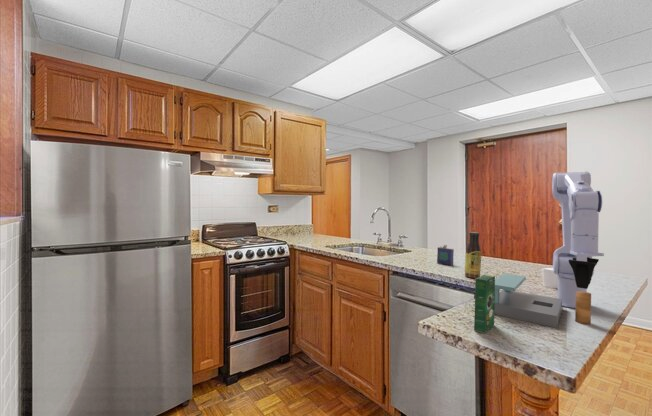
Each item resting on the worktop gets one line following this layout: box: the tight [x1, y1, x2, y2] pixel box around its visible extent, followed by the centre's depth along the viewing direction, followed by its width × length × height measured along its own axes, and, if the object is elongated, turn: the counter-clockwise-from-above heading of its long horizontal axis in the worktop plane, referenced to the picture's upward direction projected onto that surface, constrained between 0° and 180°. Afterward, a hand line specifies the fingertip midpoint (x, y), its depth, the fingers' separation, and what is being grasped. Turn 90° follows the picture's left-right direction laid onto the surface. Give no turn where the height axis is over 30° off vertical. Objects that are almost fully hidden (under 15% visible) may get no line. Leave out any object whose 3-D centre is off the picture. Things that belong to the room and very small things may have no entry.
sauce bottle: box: [464, 231, 482, 279], centre depth 136 cm, size 6×6×20 cm
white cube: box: [541, 267, 558, 290], centre depth 122 cm, size 7×7×7 cm
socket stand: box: [494, 273, 563, 328], centre depth 92 cm, size 20×16×8 cm
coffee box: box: [473, 274, 496, 334], centre depth 78 cm, size 8×3×13 cm, turn 137°
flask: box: [436, 244, 455, 267], centre depth 166 cm, size 9×3×11 cm, turn 38°
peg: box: [574, 291, 592, 325], centre depth 84 cm, size 3×3×8 cm
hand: (583, 285), depth 83 cm, fingers open, 7 cm apart
